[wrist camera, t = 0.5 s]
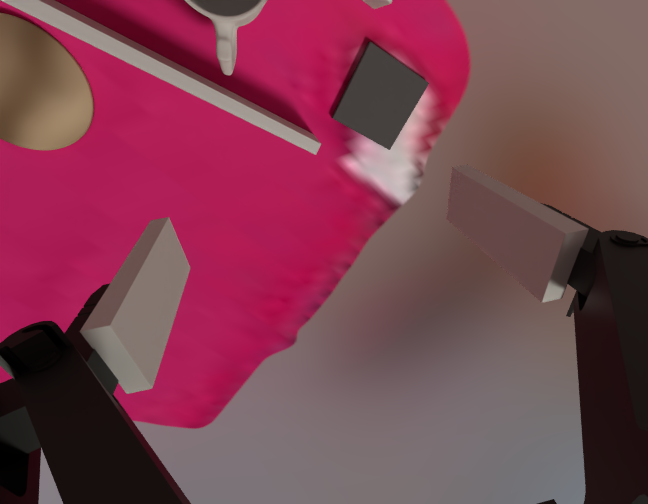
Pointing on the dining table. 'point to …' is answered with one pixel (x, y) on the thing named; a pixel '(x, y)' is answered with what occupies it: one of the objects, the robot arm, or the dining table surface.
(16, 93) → the coaster
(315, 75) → the dining table surface
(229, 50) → the mug
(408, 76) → the pad
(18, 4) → the channel
